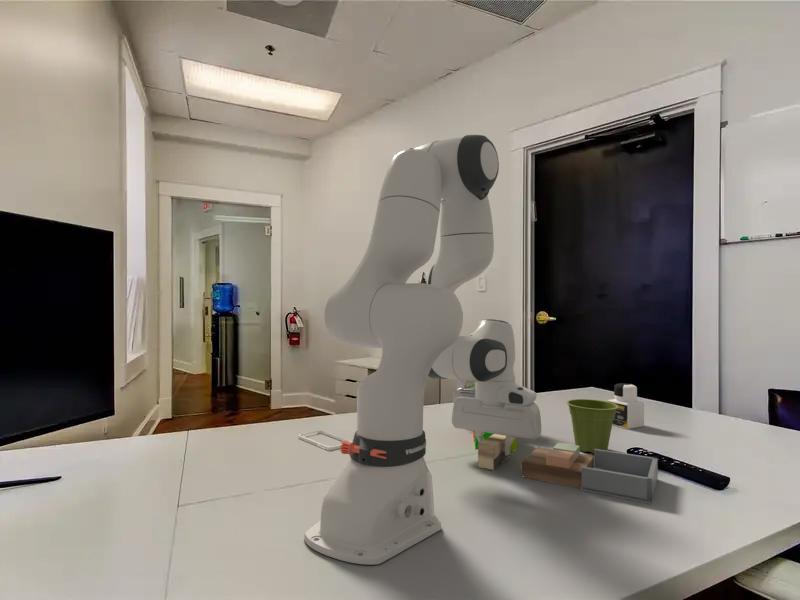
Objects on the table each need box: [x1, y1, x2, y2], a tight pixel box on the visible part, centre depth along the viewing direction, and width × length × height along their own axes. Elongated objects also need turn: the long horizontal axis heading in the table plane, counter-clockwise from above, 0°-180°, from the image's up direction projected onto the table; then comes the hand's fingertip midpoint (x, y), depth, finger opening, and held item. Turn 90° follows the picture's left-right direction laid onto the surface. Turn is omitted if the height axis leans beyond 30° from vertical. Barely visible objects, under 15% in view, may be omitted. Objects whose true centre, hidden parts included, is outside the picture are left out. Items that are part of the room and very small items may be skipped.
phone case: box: [297, 430, 353, 452], centre depth 125 cm, size 7×1×15 cm
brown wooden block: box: [521, 446, 594, 489], centre depth 102 cm, size 12×12×3 cm
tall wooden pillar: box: [477, 434, 511, 471], centre depth 109 cm, size 11×4×5 cm, turn 148°
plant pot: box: [566, 398, 619, 454], centre depth 118 cm, size 12×12×11 cm
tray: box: [581, 449, 659, 505], centre depth 96 cm, size 14×12×4 cm
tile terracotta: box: [546, 448, 574, 469], centre depth 99 cm, size 4×4×2 cm
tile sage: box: [552, 442, 581, 461], centre depth 104 cm, size 4×4×2 cm
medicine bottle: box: [607, 382, 645, 430], centre depth 142 cm, size 7×7×12 cm
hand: (494, 452), depth 109 cm, fingers closed on tall wooden pillar, 3 cm apart
